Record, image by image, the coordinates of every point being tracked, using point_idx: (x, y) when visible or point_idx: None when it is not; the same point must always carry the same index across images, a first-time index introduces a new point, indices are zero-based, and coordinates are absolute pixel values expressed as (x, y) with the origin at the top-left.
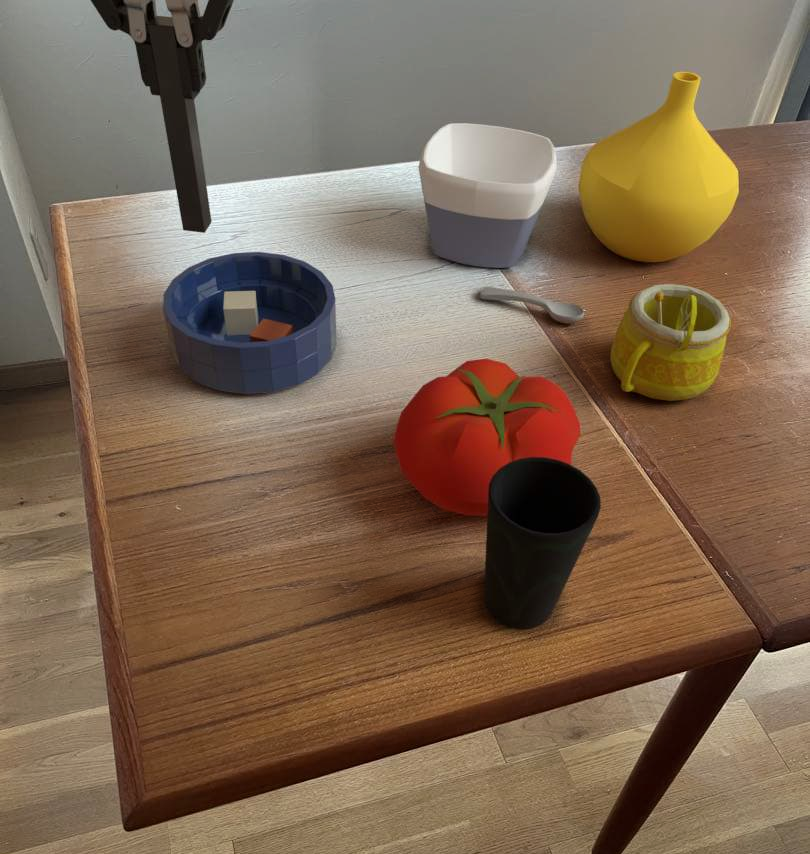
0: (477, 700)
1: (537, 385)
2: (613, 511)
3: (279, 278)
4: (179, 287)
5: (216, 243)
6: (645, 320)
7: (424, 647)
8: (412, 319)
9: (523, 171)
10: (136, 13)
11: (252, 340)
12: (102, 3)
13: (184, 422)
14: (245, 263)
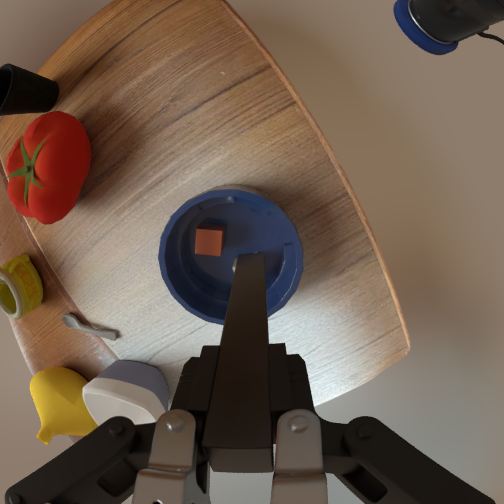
0: (62, 45)
1: (12, 191)
2: None
3: None
4: (295, 265)
5: (306, 354)
6: (8, 283)
7: (79, 53)
8: (142, 304)
9: None
10: (297, 463)
11: (220, 229)
12: (391, 457)
13: (252, 148)
14: None
